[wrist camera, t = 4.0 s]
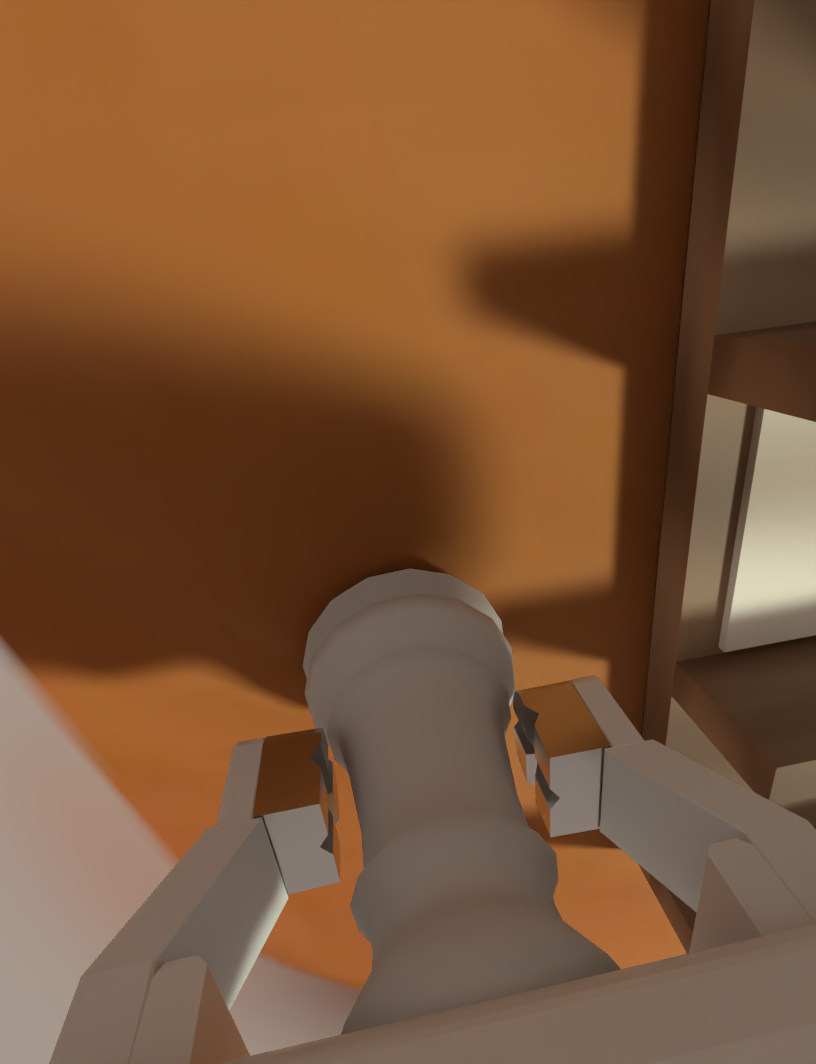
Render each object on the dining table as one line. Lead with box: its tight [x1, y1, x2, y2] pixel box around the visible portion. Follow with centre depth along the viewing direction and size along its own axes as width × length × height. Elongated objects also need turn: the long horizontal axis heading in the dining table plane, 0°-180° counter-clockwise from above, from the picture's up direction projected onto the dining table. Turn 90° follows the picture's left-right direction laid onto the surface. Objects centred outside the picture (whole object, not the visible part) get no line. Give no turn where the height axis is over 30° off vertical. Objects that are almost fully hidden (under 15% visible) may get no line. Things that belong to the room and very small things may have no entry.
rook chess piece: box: [303, 569, 621, 1035], centre depth 8 cm, size 4×4×8 cm
